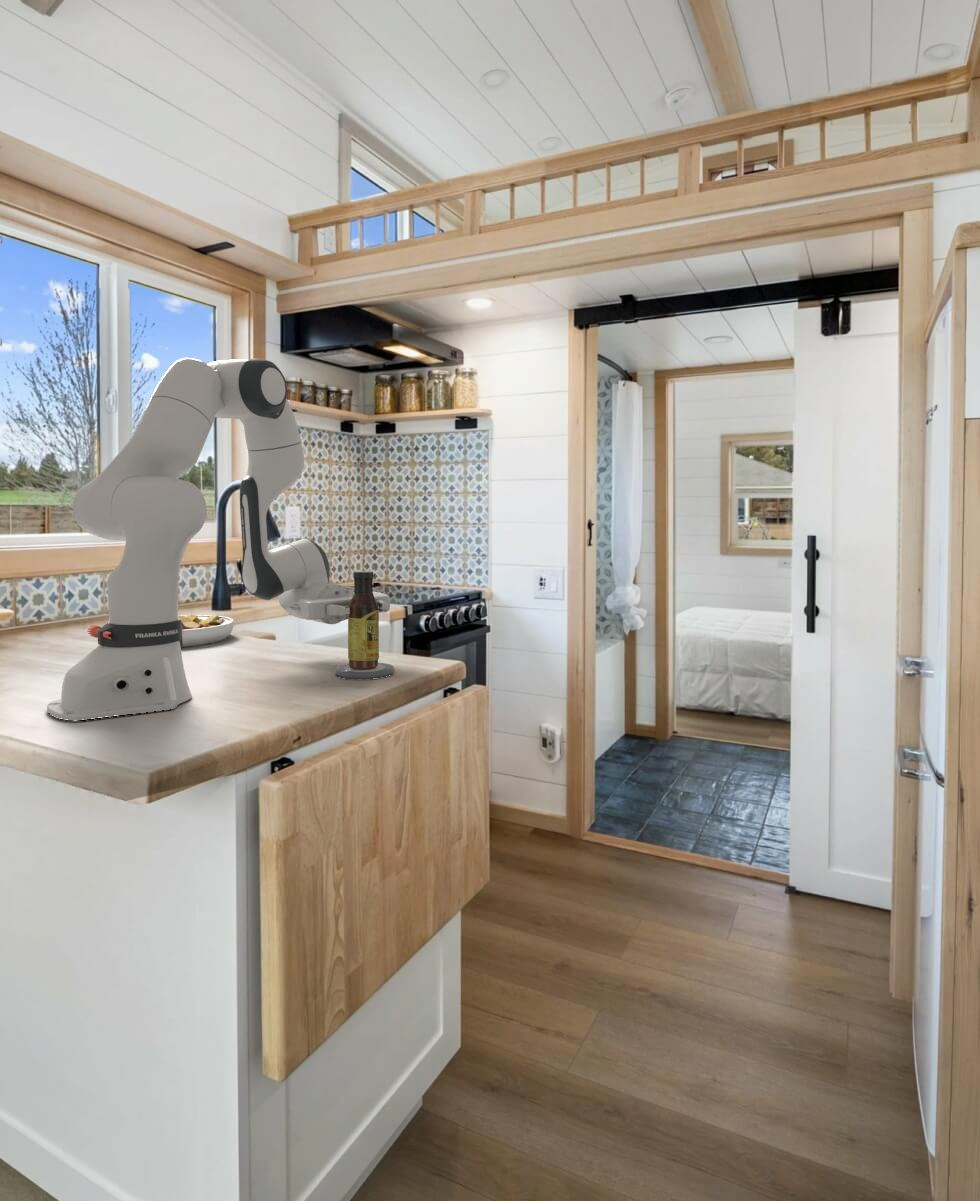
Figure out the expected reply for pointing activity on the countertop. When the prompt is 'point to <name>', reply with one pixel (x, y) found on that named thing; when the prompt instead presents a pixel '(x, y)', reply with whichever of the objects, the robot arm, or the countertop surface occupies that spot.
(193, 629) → the bowl
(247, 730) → the countertop surface
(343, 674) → the slate trivet
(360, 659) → the sauce bottle
